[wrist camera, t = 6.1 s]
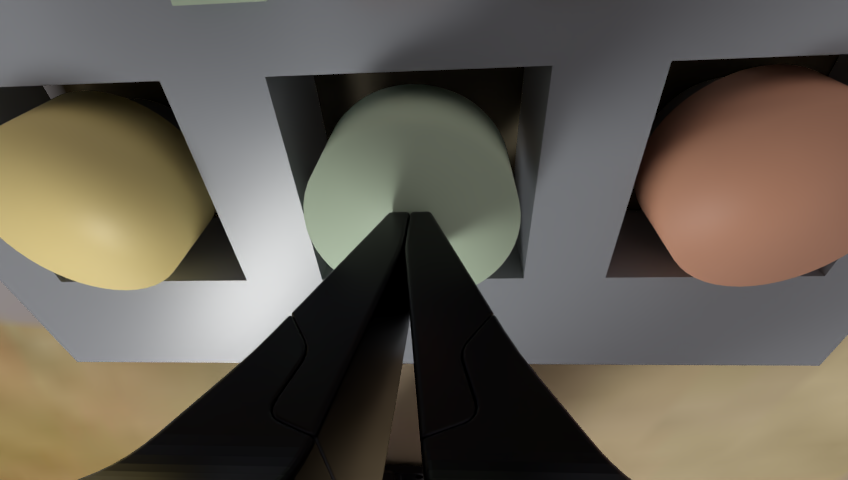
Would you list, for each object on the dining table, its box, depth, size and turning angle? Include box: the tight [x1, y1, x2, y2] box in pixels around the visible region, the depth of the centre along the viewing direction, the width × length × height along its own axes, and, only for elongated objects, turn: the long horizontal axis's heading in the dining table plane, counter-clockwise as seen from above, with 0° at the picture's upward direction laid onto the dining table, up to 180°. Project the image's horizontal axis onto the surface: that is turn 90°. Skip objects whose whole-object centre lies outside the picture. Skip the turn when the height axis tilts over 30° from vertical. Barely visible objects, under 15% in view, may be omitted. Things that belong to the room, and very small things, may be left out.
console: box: [0, 0, 848, 366], centre depth 11 cm, size 13×24×3 cm, turn 93°
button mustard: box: [0, 91, 216, 290], centre depth 11 cm, size 4×4×3 cm
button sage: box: [303, 84, 521, 285], centre depth 10 cm, size 4×4×3 cm
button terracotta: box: [634, 64, 848, 287], centre depth 10 cm, size 4×4×3 cm
